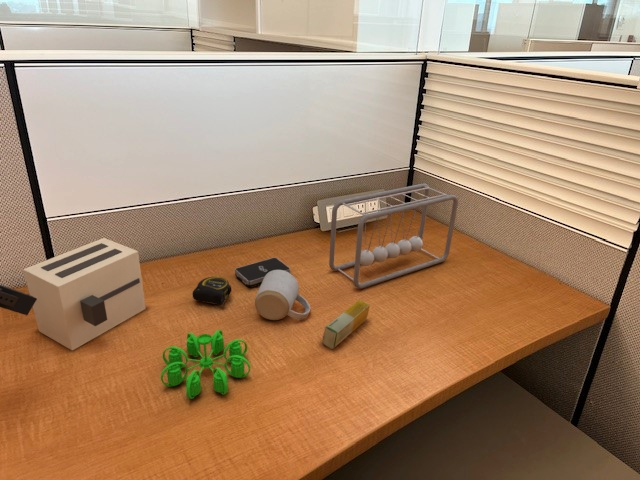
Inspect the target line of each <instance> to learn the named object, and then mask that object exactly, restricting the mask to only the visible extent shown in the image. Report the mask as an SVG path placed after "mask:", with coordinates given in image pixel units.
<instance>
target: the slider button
mask: <svg viewBox="0 0 640 480" xmlns="http://www.w3.org/2000/svg"><path fill="white" fill-rule="evenodd" d="M80 304H81V309H82V313H83V318H84V321H86V322H88V323H90V324H92V325H94V326H97V325H99V324H101V323H103V322H104V321H106V320H107V314H106V309H105V303H104V300H102V299H100V298H98V297H96V296H93V295H91V296H89V297H87V298H85V299H83V300H81V301H80Z"/></svg>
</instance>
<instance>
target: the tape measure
mask: <svg viewBox="0 0 640 480" xmlns="http://www.w3.org/2000/svg"><path fill="white" fill-rule="evenodd" d="M231 293H232V286H231V284H229V281H228V279H226V278H225V277H221V276H209V277H205V278H203V279H202V280H200V281H199V282H198V283H197V286H196V287H195V288H194V289H193V290H192V298H193V300H194V301H197V302H201V303H208V304H213V305H218V306H224V304H225V303H226V301H227V300H228V299H229V298H230V295H231Z"/></svg>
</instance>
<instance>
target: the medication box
mask: <svg viewBox="0 0 640 480" xmlns="http://www.w3.org/2000/svg"><path fill="white" fill-rule="evenodd" d="M370 306H371V305H370V304H369V303H368V302H365V301H364V300H363V299H358V300H357V301H355V302H354V303H352V305H350V307H348V308H347V309H345V310H344V311H343V312H342V313H341V314H339V315H338V316H337V317H336V318H335V319H333V320H332V321H331V322H330V323H329V324H327V325H326V326H324V331H323V336H322V342H321V343H322V345H324V346H325V347H326V348H328V349H330V350H334V349H335V348H336V347H337V346H338V345H339V344H340V343H342V342H343V341H344V340H345V339H346V338H347V337H348V336H350V335H351V334H352V333H353V332H355V330H356V329H358V328H359V326H361V325H362V324H363V323H364V322H365V321H367V320H368V319H367V318H368V315H369V310H370Z"/></svg>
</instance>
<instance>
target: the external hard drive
mask: <svg viewBox="0 0 640 480" xmlns="http://www.w3.org/2000/svg"><path fill="white" fill-rule="evenodd" d="M273 270H284V271H286V272H288V273H290V274H291V267H289V266H288V265H287V264H285V263H284V262H283V261H281V260H280V259H279V258H278V257H271V258H266V259H263V260H260V261H256V262H252V263H249V264H245V265H242V266H239V267H235V268H234V275H235V277H237V279H239V280H240V281H241V282H242V283H243V284H244V285H245V286H246V287H248V288H254V287H257V286H261V284H262V281H263V279H264V277H265V276H266V274H267V273H269V272H270V271H273Z"/></svg>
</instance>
